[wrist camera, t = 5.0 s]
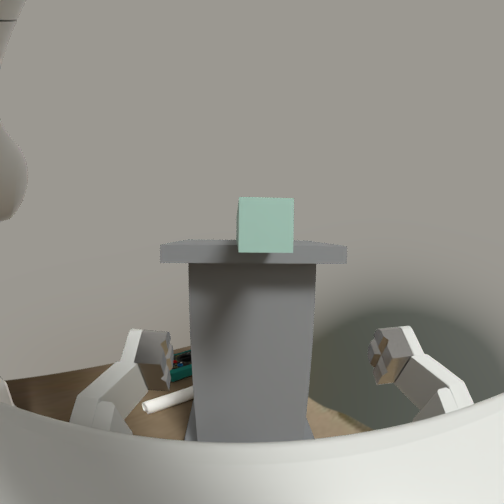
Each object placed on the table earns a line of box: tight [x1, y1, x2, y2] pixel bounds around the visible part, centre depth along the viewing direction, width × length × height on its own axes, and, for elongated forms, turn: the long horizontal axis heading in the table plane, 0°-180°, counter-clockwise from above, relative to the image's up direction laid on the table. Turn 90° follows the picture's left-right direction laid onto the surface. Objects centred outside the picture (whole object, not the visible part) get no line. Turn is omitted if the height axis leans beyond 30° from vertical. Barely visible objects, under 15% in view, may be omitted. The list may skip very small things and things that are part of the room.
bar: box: [236, 197, 294, 253], centre depth 29 cm, size 23×3×3 cm, turn 3°
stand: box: [160, 240, 347, 443], centre depth 35 cm, size 16×16×26 cm
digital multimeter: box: [170, 350, 192, 382], centre depth 60 cm, size 7×15×3 cm, turn 138°
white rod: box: [142, 386, 194, 414], centre depth 48 cm, size 18×2×2 cm, turn 137°
